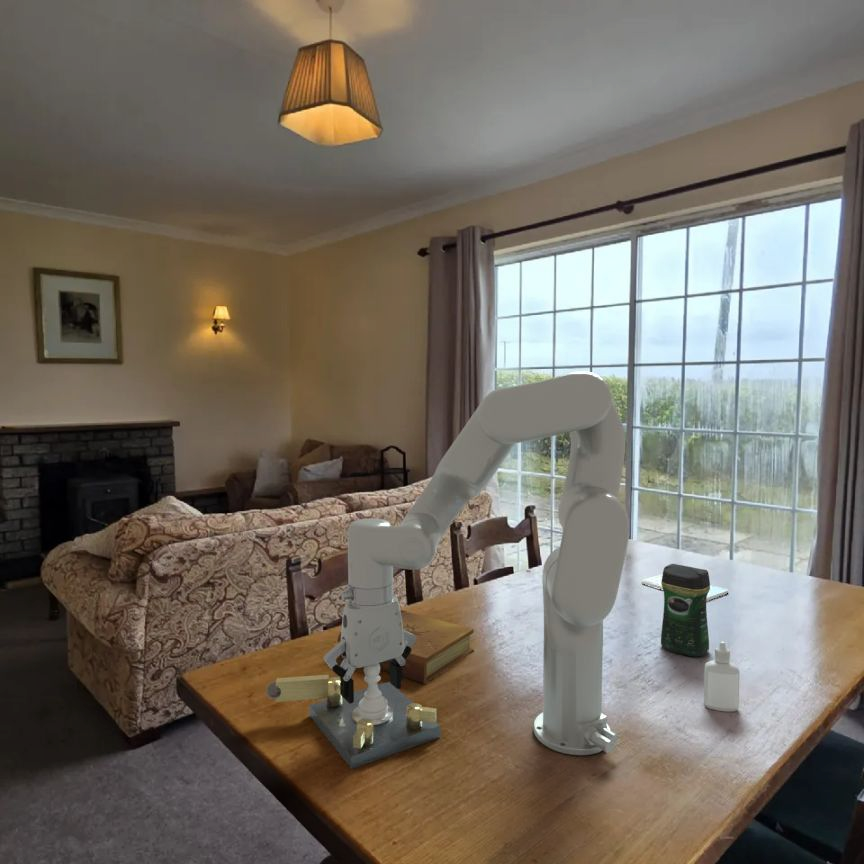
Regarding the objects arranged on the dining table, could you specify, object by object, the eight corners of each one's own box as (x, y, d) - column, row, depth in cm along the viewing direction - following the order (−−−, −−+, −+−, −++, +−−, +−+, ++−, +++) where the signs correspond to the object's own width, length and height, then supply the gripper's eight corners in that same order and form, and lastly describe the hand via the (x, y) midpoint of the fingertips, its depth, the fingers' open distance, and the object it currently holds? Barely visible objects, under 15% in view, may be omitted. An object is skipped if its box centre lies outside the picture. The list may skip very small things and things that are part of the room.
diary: (338, 659, 132) (337, 633, 132) (392, 631, 147) (391, 607, 147) (424, 687, 119) (424, 658, 118) (473, 653, 134) (473, 627, 134)
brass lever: (342, 698, 110) (342, 672, 109) (342, 705, 107) (342, 679, 106) (267, 703, 108) (267, 677, 107) (265, 711, 105) (265, 684, 105)
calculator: (667, 577, 188) (667, 571, 187) (730, 595, 171) (730, 588, 171) (639, 585, 180) (640, 579, 180) (703, 604, 164) (703, 597, 163)
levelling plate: (441, 738, 100) (441, 709, 100) (352, 771, 92) (352, 739, 92) (389, 691, 116) (389, 666, 116) (309, 715, 108) (308, 688, 107)
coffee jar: (713, 650, 134) (715, 567, 133) (699, 661, 128) (701, 575, 127) (670, 637, 141) (671, 558, 139) (655, 648, 135) (656, 566, 134)
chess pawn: (353, 717, 103) (351, 666, 102) (367, 701, 107) (365, 653, 107) (380, 722, 101) (378, 670, 100) (393, 706, 106) (391, 657, 105)
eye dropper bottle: (733, 717, 107) (735, 650, 106) (700, 706, 110) (702, 641, 109) (741, 707, 110) (743, 642, 109) (708, 697, 114) (710, 634, 113)
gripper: (331, 609, 95) (333, 717, 96) (426, 589, 104) (427, 688, 105) (313, 596, 101) (315, 697, 103) (405, 578, 110) (405, 671, 112)
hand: (372, 692), depth 104 cm, fingers open, 8 cm apart
